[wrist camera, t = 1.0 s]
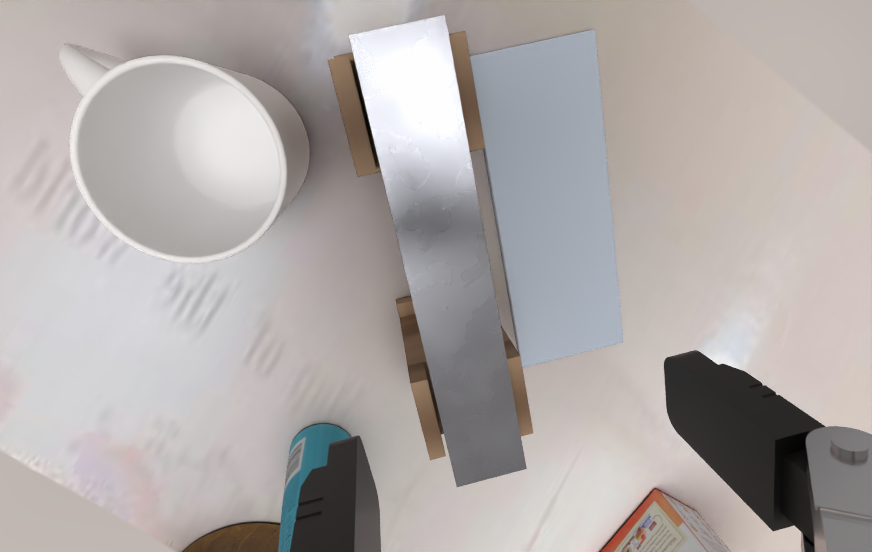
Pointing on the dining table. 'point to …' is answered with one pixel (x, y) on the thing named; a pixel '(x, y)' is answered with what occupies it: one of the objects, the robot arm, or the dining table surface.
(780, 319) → the dining table surface
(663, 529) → the cracker box
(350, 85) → the post
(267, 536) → the wooden container
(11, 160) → the dining table surface
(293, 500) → the tube
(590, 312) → the mat
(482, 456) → the rail
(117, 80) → the mug
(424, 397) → the post
